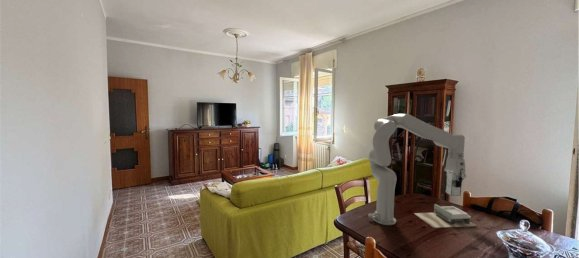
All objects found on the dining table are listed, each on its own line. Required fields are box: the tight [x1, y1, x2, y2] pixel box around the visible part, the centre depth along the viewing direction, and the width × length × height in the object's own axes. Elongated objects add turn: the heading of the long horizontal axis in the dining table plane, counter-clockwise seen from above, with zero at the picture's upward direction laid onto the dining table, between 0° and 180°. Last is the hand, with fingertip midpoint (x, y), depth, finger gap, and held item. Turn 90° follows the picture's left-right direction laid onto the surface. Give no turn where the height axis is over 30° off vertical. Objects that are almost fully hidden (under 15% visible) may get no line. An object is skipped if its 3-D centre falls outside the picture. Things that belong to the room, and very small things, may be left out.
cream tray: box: [413, 211, 477, 229], centre depth 143 cm, size 26×18×1 cm
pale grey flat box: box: [433, 203, 472, 224], centre depth 143 cm, size 13×14×6 cm
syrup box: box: [445, 170, 463, 197], centre depth 142 cm, size 6×6×14 cm
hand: (453, 184), depth 142 cm, fingers closed on syrup box, 6 cm apart
